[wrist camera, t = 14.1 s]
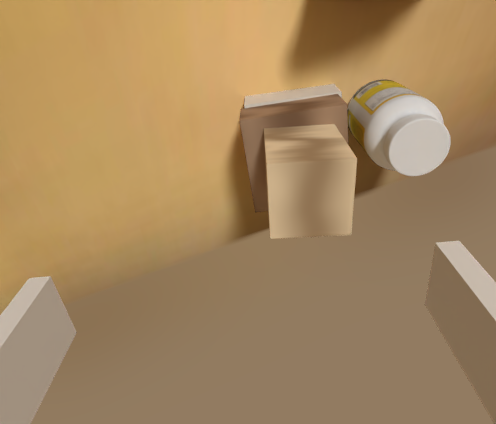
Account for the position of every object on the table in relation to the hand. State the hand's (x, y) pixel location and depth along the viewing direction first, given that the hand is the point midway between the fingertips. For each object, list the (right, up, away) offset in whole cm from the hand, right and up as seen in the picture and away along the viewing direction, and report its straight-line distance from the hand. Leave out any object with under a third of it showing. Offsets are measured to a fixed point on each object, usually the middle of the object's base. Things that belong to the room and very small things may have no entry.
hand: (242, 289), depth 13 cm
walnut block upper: (+5, +9, +24) cm, 26 cm away
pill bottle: (+14, +13, +26) cm, 32 cm away
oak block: (+5, +7, +20) cm, 22 cm away
